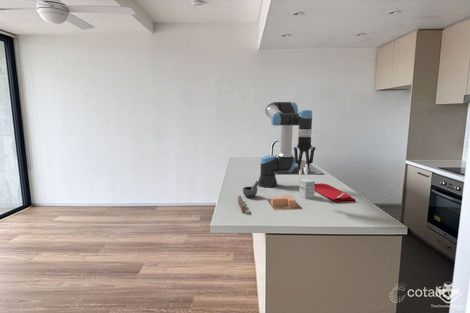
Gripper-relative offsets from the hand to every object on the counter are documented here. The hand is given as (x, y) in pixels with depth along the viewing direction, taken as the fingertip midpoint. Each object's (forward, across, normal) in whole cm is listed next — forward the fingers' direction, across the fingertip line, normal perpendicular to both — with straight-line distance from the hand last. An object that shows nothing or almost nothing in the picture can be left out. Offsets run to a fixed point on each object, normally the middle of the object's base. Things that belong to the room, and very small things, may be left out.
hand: (303, 174), depth 177 cm
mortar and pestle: (+20, -29, +18) cm, 39 cm away
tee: (+18, -13, 0) cm, 22 cm away
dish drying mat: (+20, +29, +24) cm, 42 cm away
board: (+20, -20, 0) cm, 28 cm away
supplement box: (+20, +8, +14) cm, 25 cm away
